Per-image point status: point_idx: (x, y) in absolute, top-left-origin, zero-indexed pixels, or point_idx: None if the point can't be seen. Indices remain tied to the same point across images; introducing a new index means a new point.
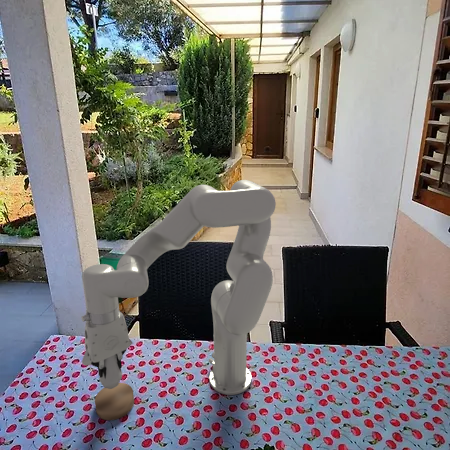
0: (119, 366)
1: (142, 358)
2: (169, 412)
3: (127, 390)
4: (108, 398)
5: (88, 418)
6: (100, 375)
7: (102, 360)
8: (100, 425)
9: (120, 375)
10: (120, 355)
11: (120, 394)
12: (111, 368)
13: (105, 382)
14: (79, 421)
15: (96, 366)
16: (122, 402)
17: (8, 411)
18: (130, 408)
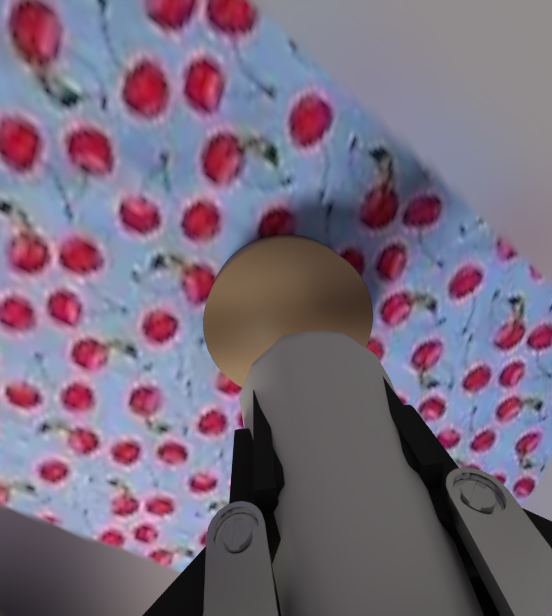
0: (261, 435)
1: (119, 474)
2: (76, 123)
3: (226, 328)
4: (315, 328)
5: (386, 302)
6: (418, 419)
7: (532, 597)
8: (365, 244)
9: (263, 369)
10: (231, 573)
11: (262, 322)
12: (357, 435)
13: (376, 360)
14: (415, 306)
15: (537, 518)
16: (270, 271)
17: (546, 449)
18: (239, 251)
